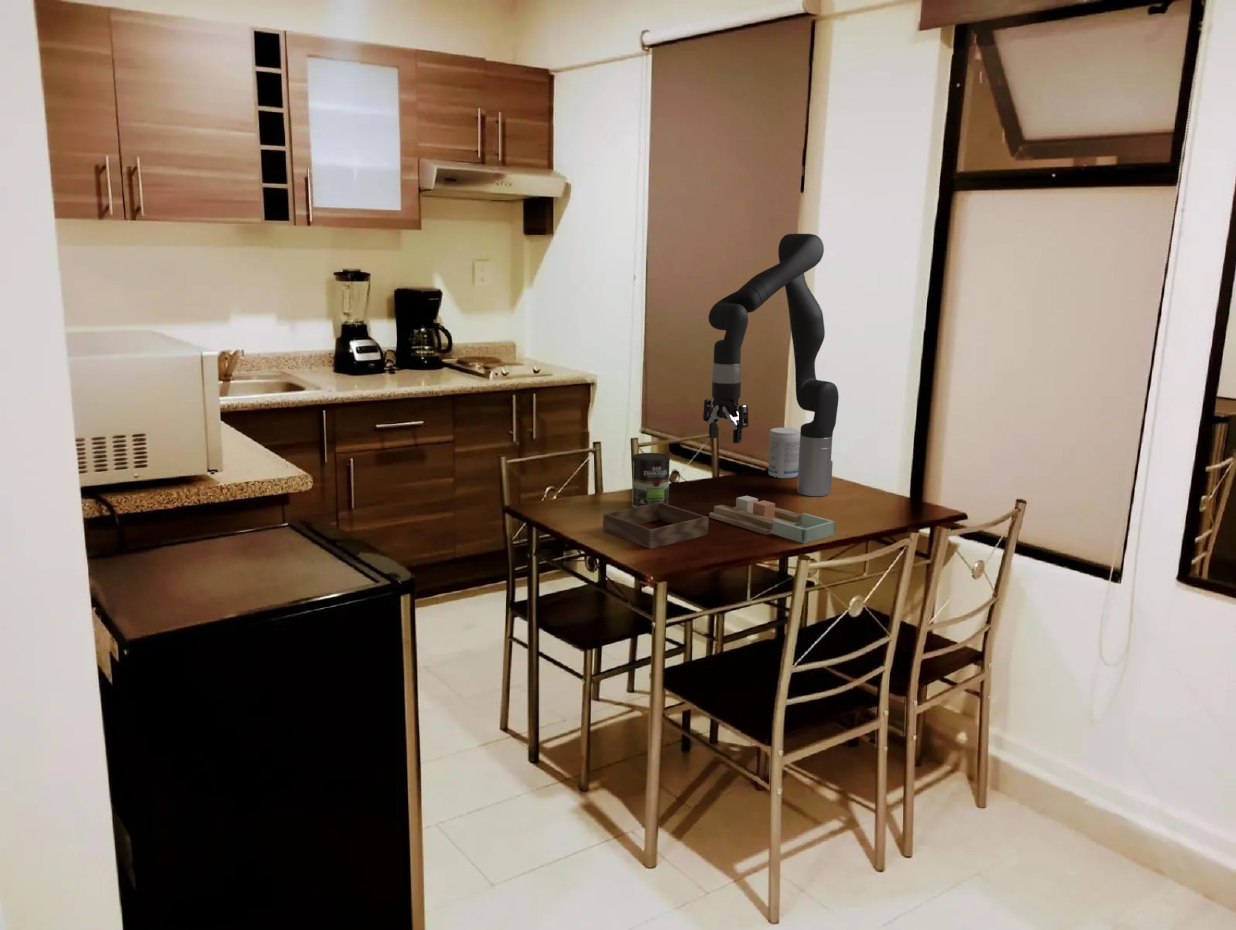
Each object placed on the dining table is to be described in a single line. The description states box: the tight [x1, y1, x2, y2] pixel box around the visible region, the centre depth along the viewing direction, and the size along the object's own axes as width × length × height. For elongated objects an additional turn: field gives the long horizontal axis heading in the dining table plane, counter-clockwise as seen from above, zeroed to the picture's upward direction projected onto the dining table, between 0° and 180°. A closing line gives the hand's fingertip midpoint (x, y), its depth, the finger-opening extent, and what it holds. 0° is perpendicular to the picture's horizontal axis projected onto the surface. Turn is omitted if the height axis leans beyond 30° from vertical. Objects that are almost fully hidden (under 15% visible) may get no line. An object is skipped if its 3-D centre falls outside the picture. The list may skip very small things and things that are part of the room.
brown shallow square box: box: [602, 502, 710, 549], centre depth 236 cm, size 19×18×4 cm
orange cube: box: [753, 500, 776, 519], centre depth 247 cm, size 4×4×4 cm
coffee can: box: [631, 452, 671, 508], centre depth 260 cm, size 10×10×14 cm
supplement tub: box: [767, 427, 801, 479], centre depth 298 cm, size 10×10×15 cm
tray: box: [772, 512, 837, 544], centre depth 237 cm, size 12×10×3 cm
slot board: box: [708, 504, 802, 535], centre depth 249 cm, size 16×20×3 cm
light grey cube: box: [735, 495, 759, 514], centre depth 251 cm, size 4×4×4 cm
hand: (724, 440), depth 252 cm, fingers open, 8 cm apart
